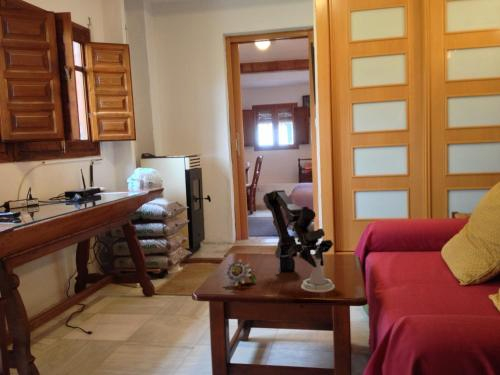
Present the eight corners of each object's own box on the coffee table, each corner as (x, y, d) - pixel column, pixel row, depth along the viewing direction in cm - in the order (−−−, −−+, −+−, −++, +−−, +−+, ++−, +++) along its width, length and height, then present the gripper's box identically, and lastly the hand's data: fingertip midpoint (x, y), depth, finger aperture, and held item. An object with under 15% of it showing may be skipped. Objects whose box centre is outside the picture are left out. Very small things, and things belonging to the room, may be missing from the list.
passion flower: (237, 298, 176) (219, 277, 174) (240, 285, 186) (223, 265, 184) (259, 284, 173) (240, 262, 171) (261, 272, 183) (244, 251, 181)
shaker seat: (305, 293, 163) (305, 287, 163) (298, 283, 176) (298, 278, 176) (338, 291, 165) (338, 285, 164) (329, 281, 177) (329, 276, 177)
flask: (325, 281, 174) (325, 257, 173) (327, 286, 167) (327, 261, 166) (307, 281, 174) (307, 256, 174) (308, 286, 167) (308, 261, 166)
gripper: (290, 224, 168) (306, 258, 159) (330, 220, 176) (347, 252, 167) (281, 240, 176) (296, 273, 167) (319, 235, 184) (335, 267, 175)
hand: (319, 266), depth 169 cm, fingers closed on flask, 3 cm apart
